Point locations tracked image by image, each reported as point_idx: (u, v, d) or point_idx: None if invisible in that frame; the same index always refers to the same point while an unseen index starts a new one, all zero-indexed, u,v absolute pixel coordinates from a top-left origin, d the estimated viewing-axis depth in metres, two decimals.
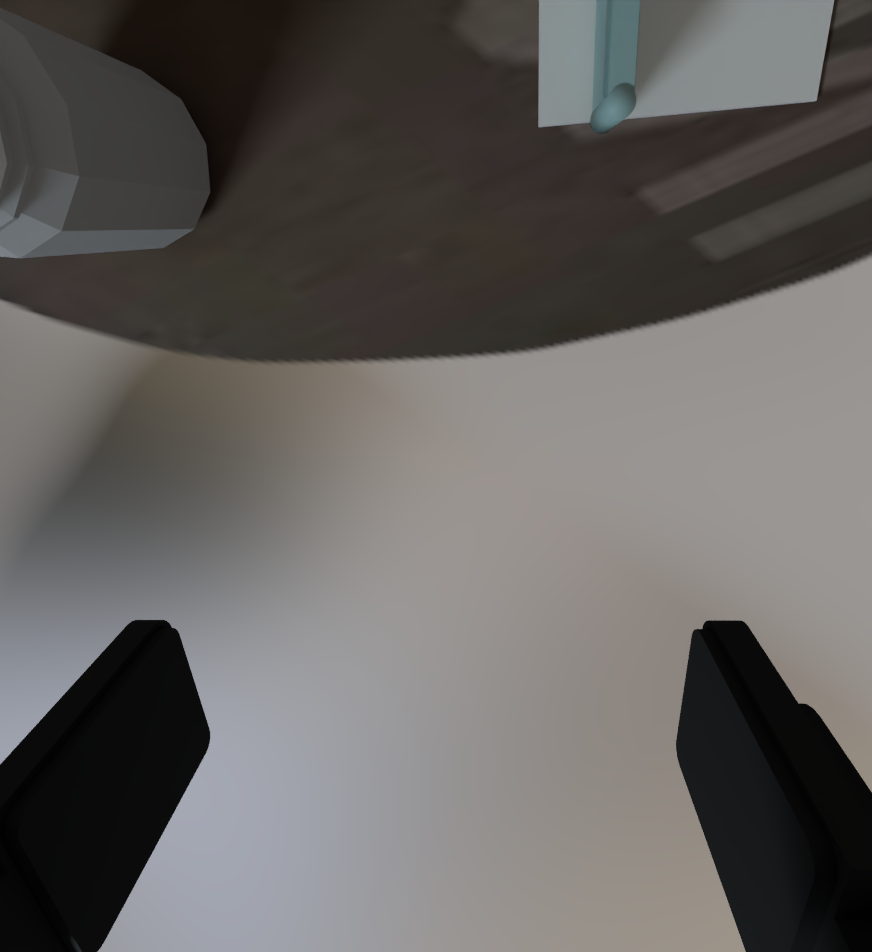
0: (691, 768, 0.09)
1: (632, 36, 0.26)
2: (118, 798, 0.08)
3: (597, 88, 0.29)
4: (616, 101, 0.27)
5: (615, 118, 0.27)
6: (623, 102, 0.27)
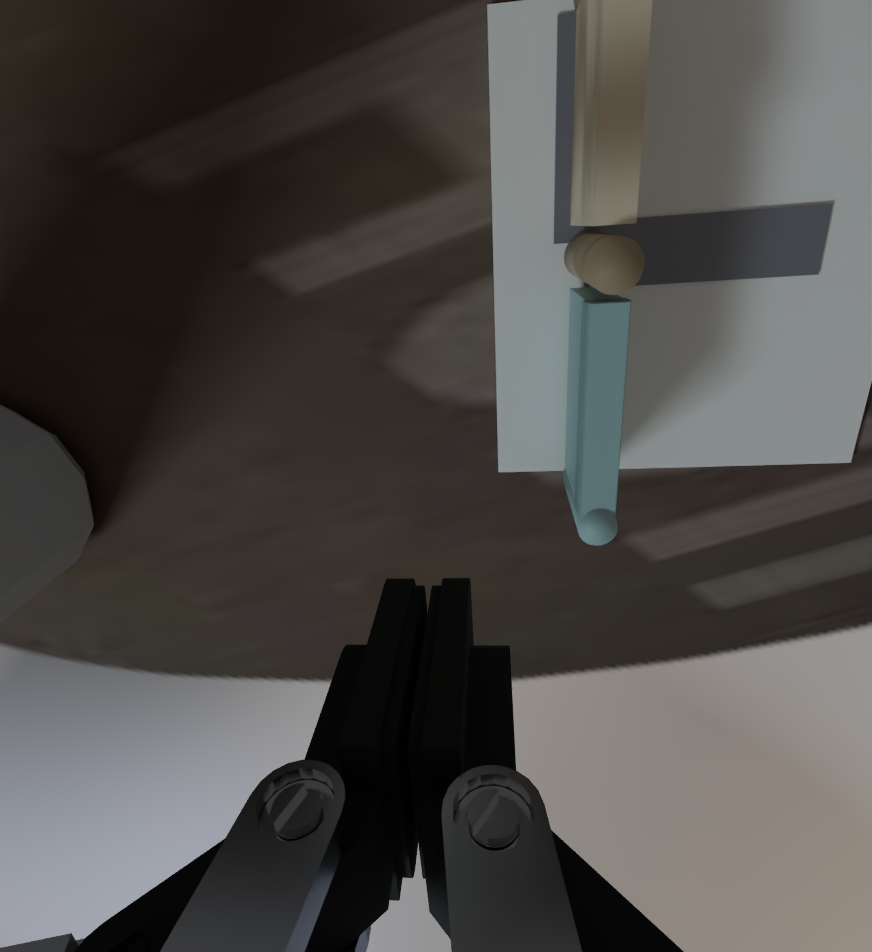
0: None
1: (611, 462, 0.19)
2: None
3: (569, 462, 0.23)
4: (591, 528, 0.20)
5: (590, 542, 0.21)
6: (600, 529, 0.20)
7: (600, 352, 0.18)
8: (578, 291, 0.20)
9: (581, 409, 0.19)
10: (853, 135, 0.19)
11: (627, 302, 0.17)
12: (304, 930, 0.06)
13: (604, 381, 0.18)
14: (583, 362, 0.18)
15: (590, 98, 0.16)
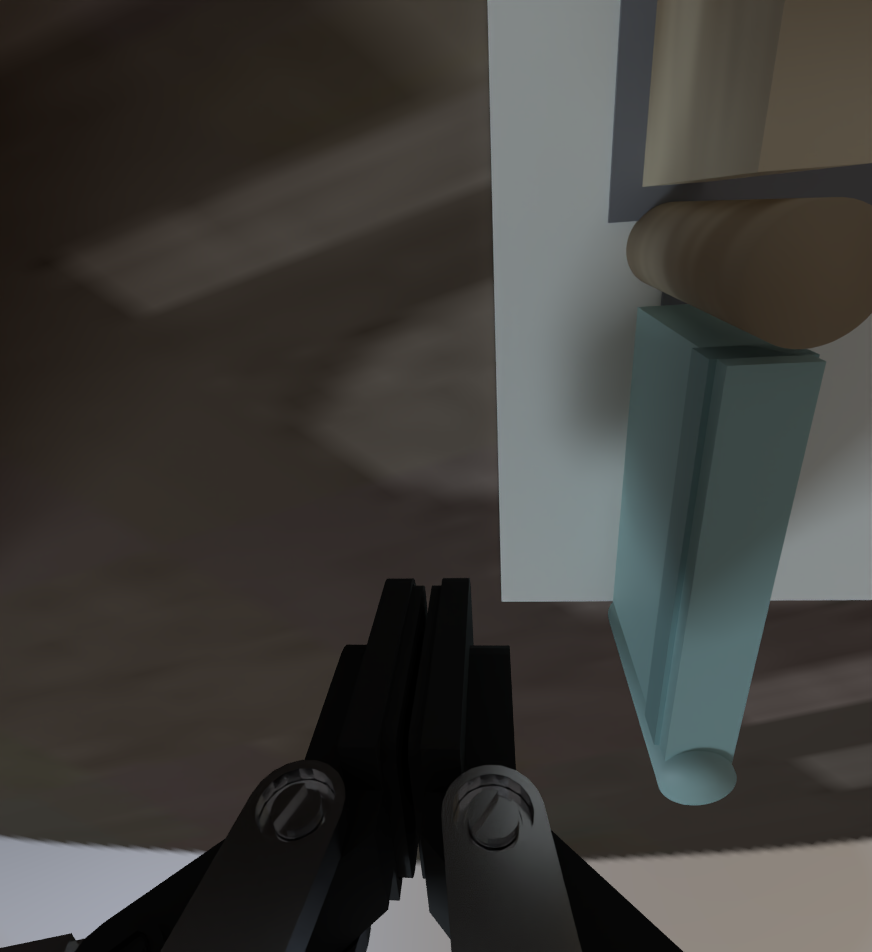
0: None
1: (737, 675, 0.09)
2: None
3: (628, 611, 0.13)
4: (685, 779, 0.10)
5: None
6: (702, 782, 0.10)
7: (739, 470, 0.08)
8: (662, 317, 0.10)
9: (678, 572, 0.09)
10: None
11: (817, 362, 0.07)
12: (304, 930, 0.06)
13: (739, 529, 0.08)
14: (691, 483, 0.08)
15: None
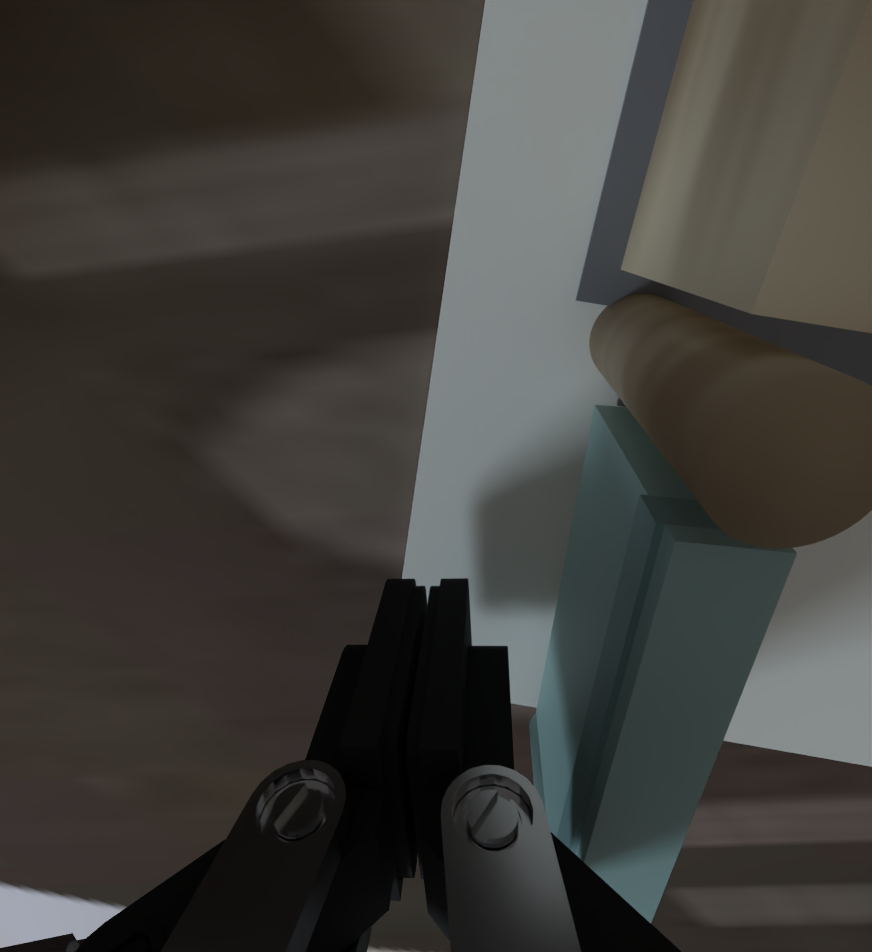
0: None
1: (651, 874, 0.08)
2: None
3: (547, 738, 0.11)
4: None
5: None
6: None
7: (677, 660, 0.06)
8: (617, 428, 0.09)
9: (596, 749, 0.07)
10: None
11: (786, 551, 0.06)
12: (305, 930, 0.06)
13: (671, 722, 0.07)
14: (621, 657, 0.07)
15: None
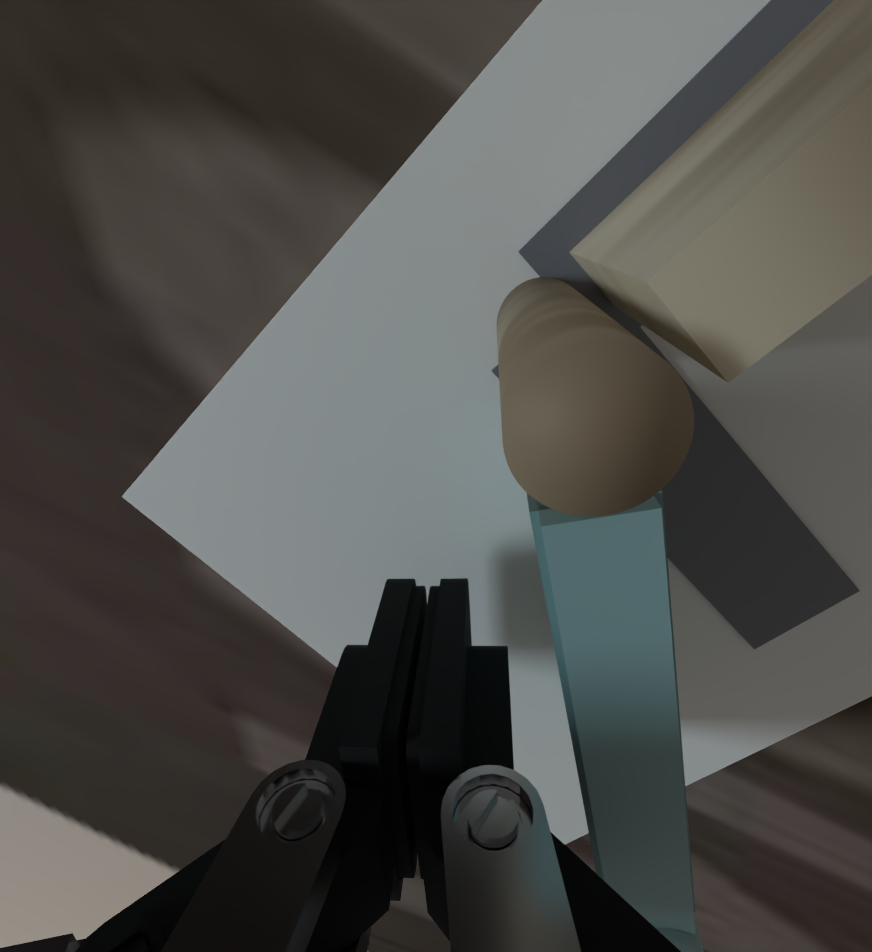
0: None
1: (670, 849, 0.08)
2: None
3: None
4: None
5: None
6: None
7: (596, 637, 0.06)
8: None
9: (572, 736, 0.07)
10: None
11: (651, 508, 0.06)
12: (305, 930, 0.06)
13: (617, 697, 0.07)
14: (555, 643, 0.07)
15: None
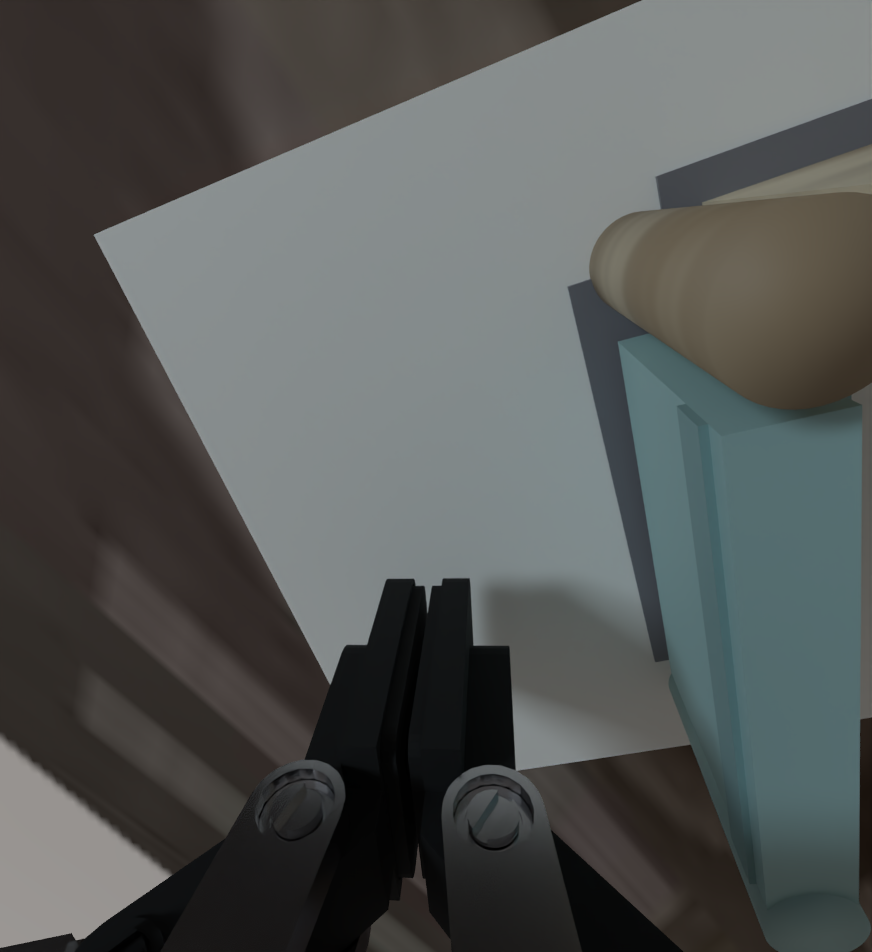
0: None
1: (838, 803, 0.07)
2: None
3: (688, 694, 0.11)
4: (800, 930, 0.08)
5: (798, 950, 0.08)
6: (824, 932, 0.08)
7: (774, 561, 0.06)
8: (644, 354, 0.08)
9: (727, 683, 0.07)
10: (869, 629, 0.12)
11: (848, 407, 0.05)
12: (304, 930, 0.06)
13: (793, 630, 0.06)
14: (715, 578, 0.06)
15: None
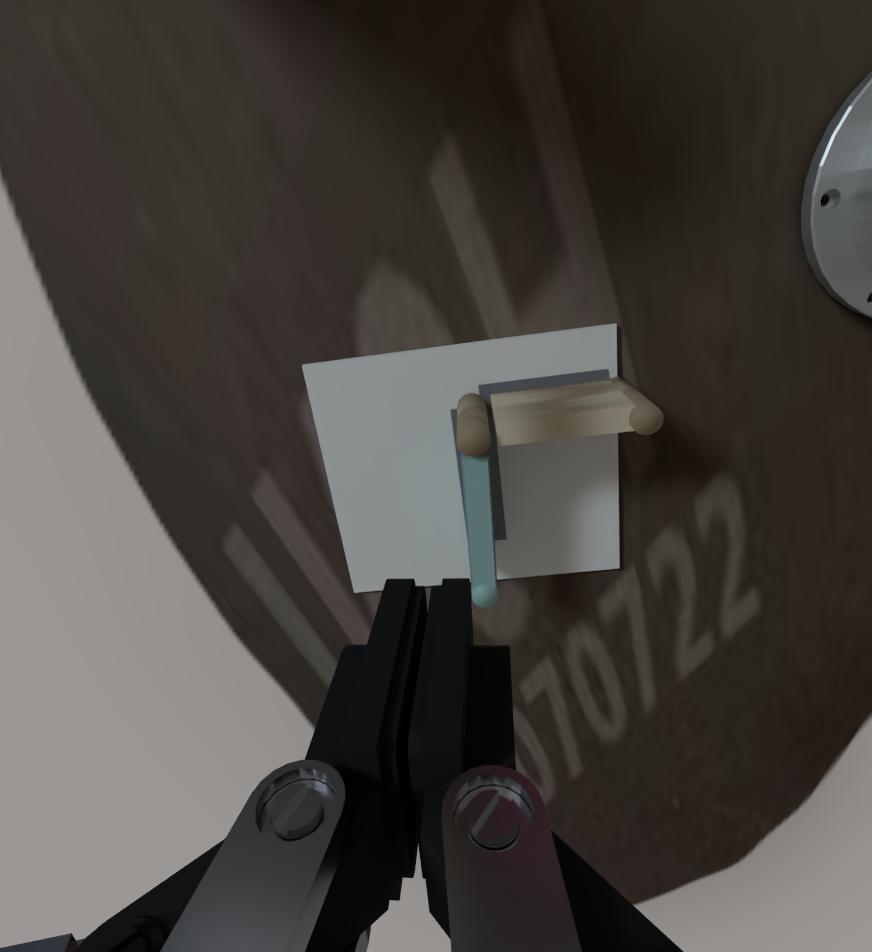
0: None
1: (489, 554, 0.29)
2: None
3: None
4: (481, 596, 0.30)
5: (481, 606, 0.30)
6: (487, 597, 0.30)
7: (472, 487, 0.27)
8: None
9: (466, 520, 0.28)
10: (540, 539, 0.34)
11: (485, 458, 0.27)
12: (304, 930, 0.06)
13: (477, 504, 0.28)
14: None
15: (563, 404, 0.27)
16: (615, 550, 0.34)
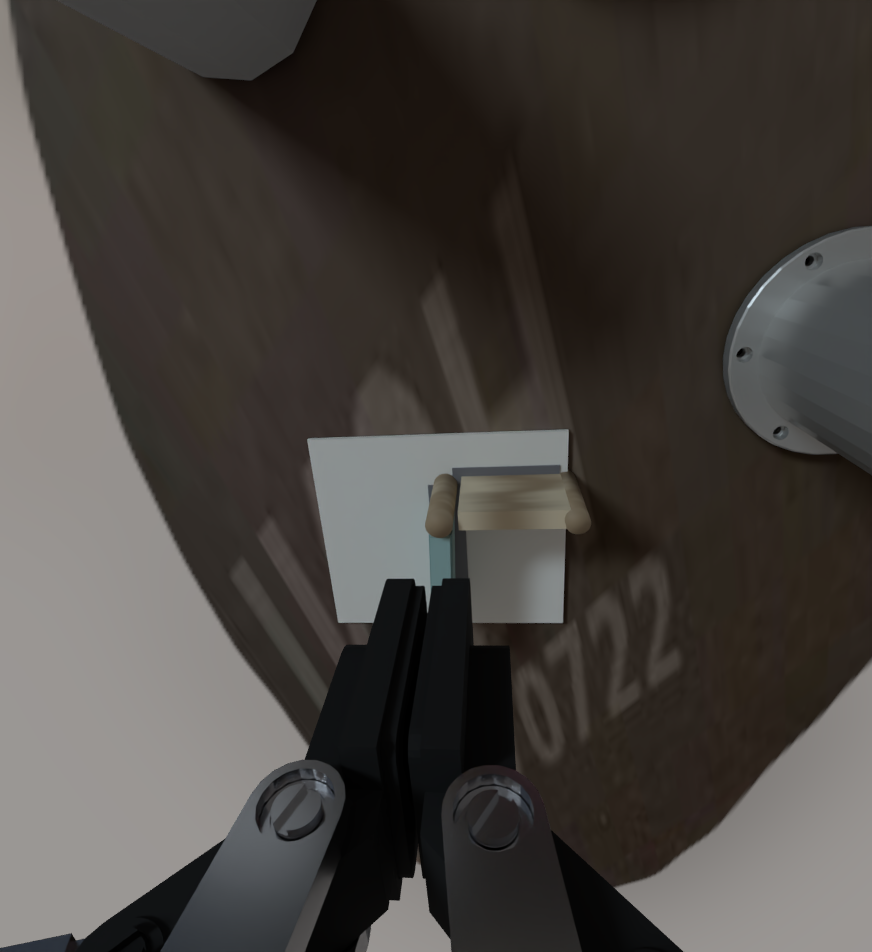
0: None
1: None
2: None
3: None
4: None
5: None
6: None
7: (436, 559, 0.34)
8: None
9: (430, 583, 0.35)
10: (497, 593, 0.40)
11: (448, 538, 0.33)
12: (304, 930, 0.06)
13: (439, 572, 0.34)
14: (430, 561, 0.34)
15: (515, 499, 0.33)
16: (559, 608, 0.40)
